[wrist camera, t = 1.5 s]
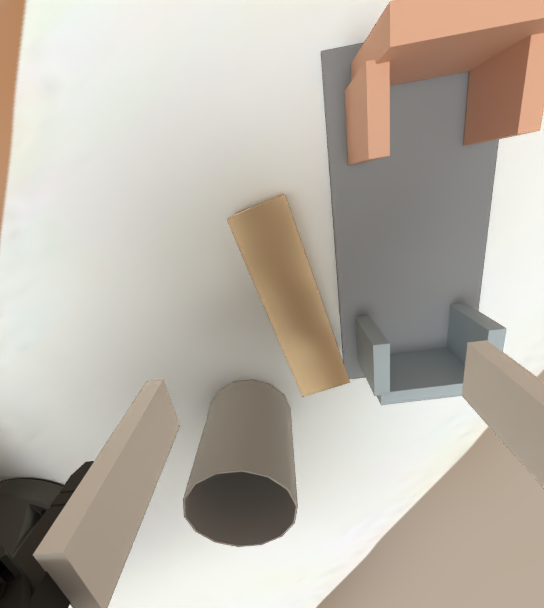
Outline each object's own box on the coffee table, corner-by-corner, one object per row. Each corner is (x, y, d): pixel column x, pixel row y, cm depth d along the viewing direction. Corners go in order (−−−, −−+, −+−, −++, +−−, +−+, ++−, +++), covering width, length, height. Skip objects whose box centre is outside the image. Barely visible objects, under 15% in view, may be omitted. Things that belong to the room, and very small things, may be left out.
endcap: (348, 165, 21) (380, 155, 15) (343, 65, 19) (378, 3, 13) (480, 142, 21) (574, 123, 14) (491, 37, 19) (607, -43, 12)
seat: (344, 377, 29) (359, 417, 24) (321, 52, 19) (337, 7, 14) (469, 362, 28) (511, 399, 23) (510, 16, 19) (595, -45, 14)
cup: (261, 366, 28) (254, 453, 19) (305, 420, 31) (318, 521, 22) (194, 404, 30) (158, 501, 21) (241, 453, 33) (228, 558, 24)
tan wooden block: (297, 362, 29) (302, 396, 24) (236, 212, 23) (226, 219, 19) (337, 350, 28) (350, 382, 23) (283, 193, 23) (285, 195, 18)
